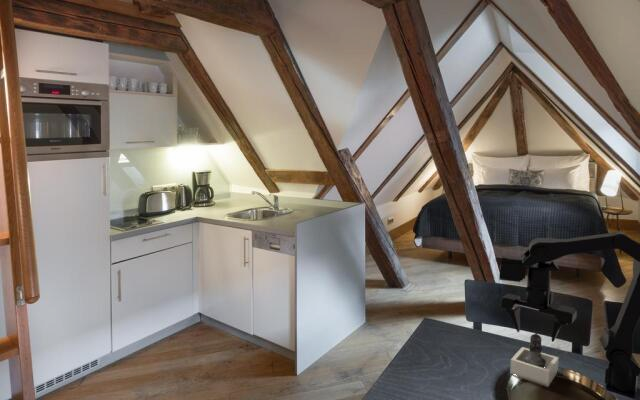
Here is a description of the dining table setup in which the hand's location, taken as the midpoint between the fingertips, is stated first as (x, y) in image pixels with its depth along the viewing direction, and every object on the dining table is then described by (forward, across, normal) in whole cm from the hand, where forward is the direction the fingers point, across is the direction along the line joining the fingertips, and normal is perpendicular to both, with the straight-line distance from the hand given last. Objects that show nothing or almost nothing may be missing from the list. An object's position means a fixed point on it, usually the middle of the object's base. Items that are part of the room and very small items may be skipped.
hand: (535, 336), depth 123 cm
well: (+11, 0, 0) cm, 11 cm away
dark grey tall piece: (+11, 0, 0) cm, 11 cm away
